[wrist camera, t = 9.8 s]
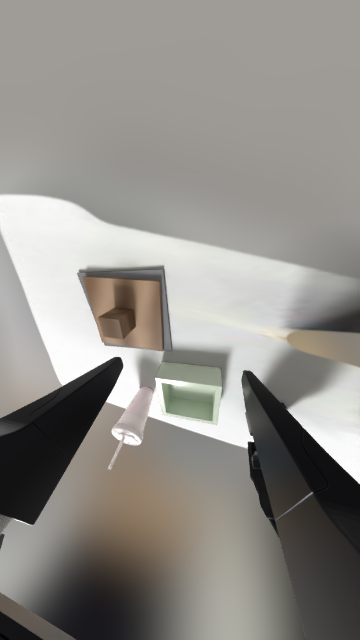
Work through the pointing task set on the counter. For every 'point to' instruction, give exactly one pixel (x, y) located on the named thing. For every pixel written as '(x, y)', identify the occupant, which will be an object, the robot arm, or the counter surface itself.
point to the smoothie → (133, 421)
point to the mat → (142, 275)
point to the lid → (127, 311)
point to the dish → (189, 391)
